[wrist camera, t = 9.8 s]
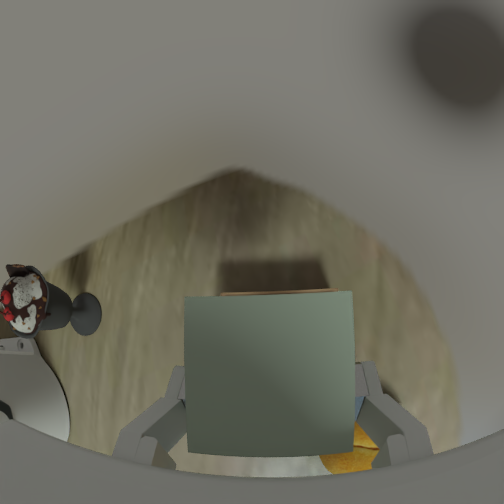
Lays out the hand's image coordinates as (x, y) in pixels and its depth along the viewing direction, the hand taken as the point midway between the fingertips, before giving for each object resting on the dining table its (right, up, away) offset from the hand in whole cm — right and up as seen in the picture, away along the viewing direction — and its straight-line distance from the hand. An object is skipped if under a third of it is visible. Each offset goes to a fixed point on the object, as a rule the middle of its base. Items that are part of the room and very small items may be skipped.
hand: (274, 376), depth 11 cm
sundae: (-20, -3, +20) cm, 28 cm away
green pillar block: (+1, -1, +5) cm, 5 cm away
